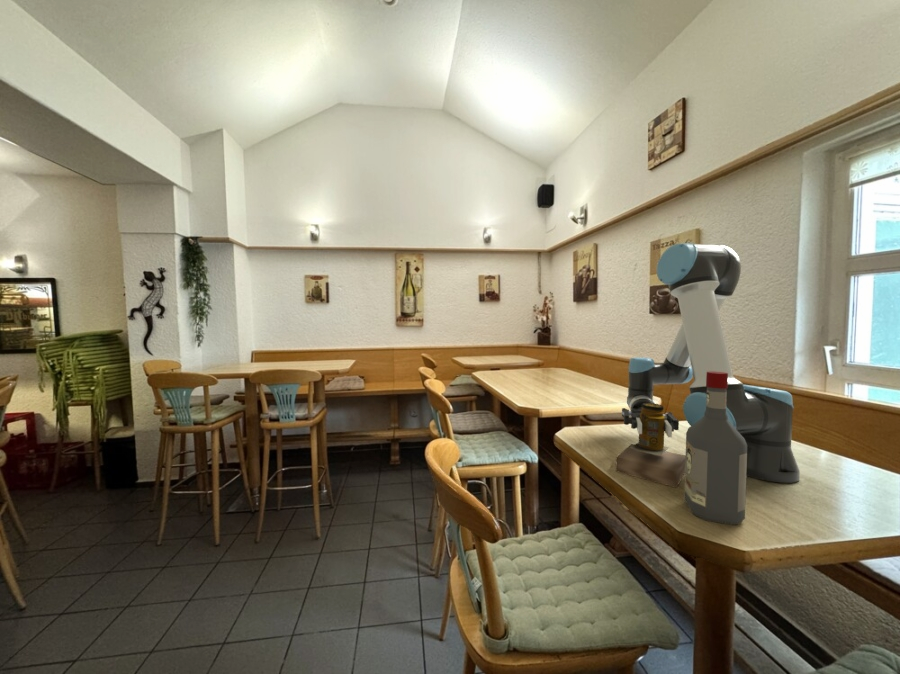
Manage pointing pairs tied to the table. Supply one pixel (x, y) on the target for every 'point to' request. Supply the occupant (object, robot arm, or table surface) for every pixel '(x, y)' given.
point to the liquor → (716, 460)
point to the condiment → (651, 430)
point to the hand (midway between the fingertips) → (655, 430)
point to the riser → (652, 466)
